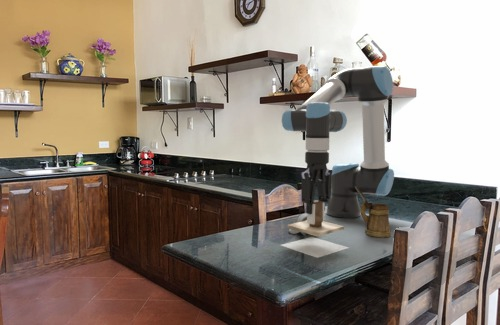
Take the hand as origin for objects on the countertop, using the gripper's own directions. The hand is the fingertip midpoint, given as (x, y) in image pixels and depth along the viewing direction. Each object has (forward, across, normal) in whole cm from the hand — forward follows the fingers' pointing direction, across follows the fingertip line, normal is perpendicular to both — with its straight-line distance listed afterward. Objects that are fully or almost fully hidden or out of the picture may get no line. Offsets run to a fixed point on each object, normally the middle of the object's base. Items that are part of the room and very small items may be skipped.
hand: (315, 222), depth 131 cm
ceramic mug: (+9, -10, -14) cm, 19 cm away
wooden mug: (+9, -30, +2) cm, 31 cm away
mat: (+9, 0, 0) cm, 9 cm away
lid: (+2, 0, 0) cm, 2 cm away
